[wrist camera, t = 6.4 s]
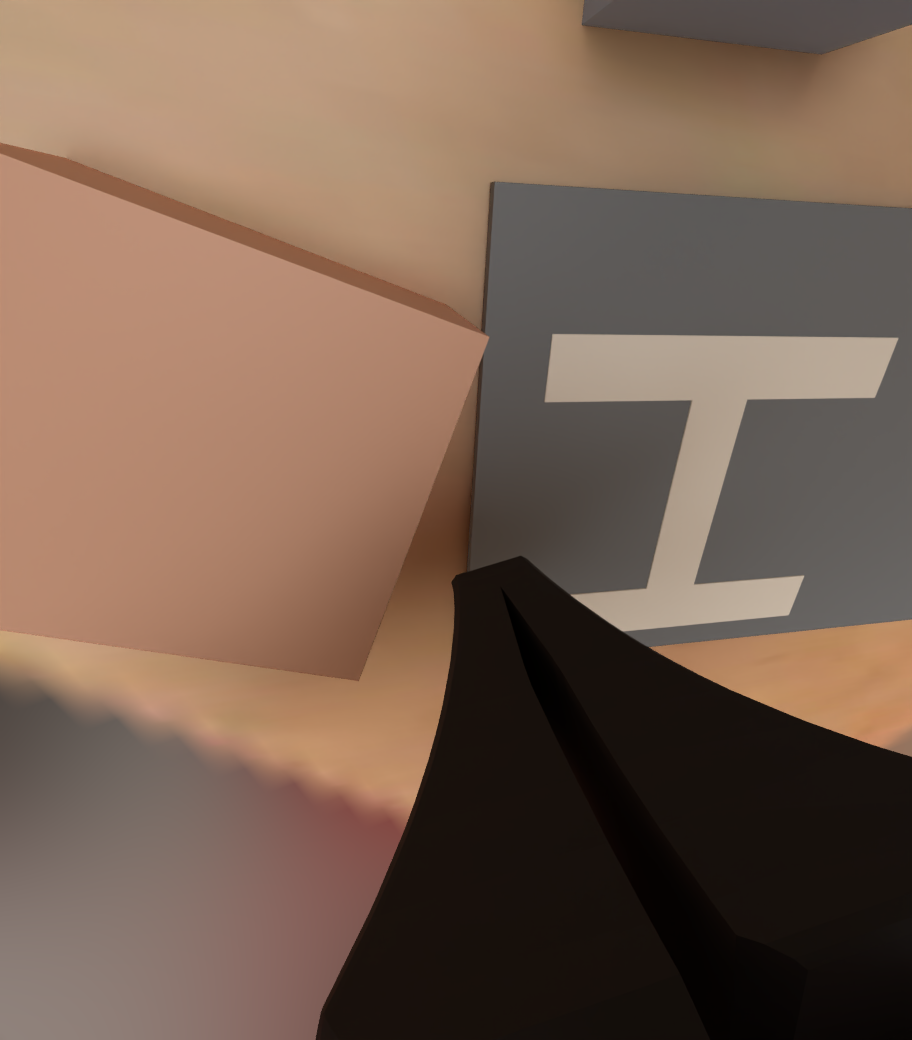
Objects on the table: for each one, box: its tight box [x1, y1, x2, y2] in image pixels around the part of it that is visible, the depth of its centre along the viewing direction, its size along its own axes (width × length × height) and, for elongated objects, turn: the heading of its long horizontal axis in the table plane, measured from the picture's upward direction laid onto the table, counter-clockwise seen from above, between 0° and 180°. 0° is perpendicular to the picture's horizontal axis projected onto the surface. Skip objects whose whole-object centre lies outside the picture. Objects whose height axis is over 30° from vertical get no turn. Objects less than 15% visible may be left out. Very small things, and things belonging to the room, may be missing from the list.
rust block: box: [0, 143, 489, 681], centre depth 10 cm, size 7×7×4 cm
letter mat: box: [467, 182, 912, 647], centre depth 15 cm, size 18×12×1 cm, turn 88°
